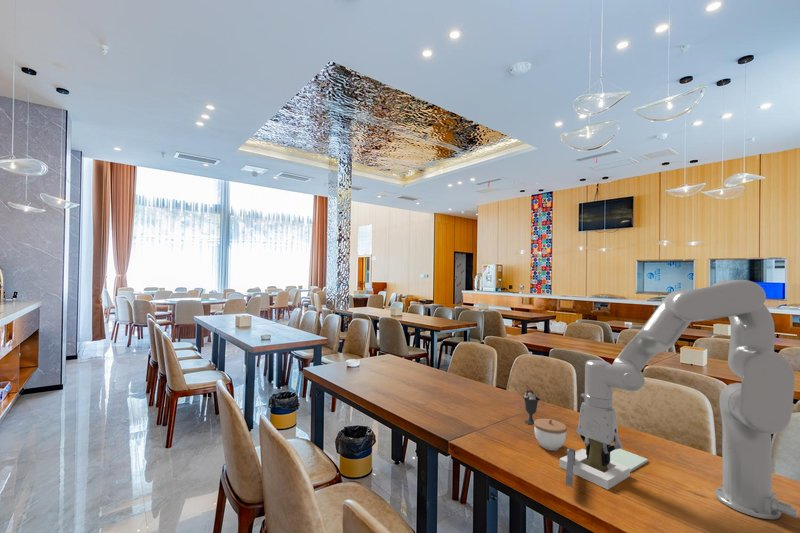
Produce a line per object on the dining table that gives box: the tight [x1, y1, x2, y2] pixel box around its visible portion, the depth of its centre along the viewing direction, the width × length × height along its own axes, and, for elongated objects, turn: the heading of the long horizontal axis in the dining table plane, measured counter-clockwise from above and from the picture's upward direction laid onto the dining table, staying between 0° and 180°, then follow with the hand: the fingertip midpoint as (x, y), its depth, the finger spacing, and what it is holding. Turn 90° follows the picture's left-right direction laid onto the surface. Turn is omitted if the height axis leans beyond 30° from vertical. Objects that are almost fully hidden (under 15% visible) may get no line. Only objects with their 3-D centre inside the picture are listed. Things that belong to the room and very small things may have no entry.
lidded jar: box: [533, 418, 568, 451], centre depth 127 cm, size 11×11×9 cm
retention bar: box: [565, 447, 576, 488], centre depth 105 cm, size 19×2×2 cm, turn 153°
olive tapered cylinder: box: [587, 438, 608, 473], centre depth 110 cm, size 6×6×11 cm
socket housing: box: [558, 448, 631, 491], centre depth 110 cm, size 14×14×3 cm
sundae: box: [522, 385, 541, 425], centre depth 148 cm, size 7×7×15 cm
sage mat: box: [610, 444, 649, 473], centre depth 119 cm, size 13×13×1 cm
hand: (597, 461), depth 110 cm, fingers closed on olive tapered cylinder, 3 cm apart
